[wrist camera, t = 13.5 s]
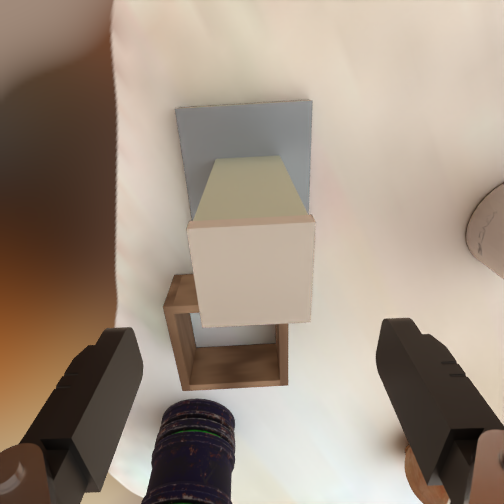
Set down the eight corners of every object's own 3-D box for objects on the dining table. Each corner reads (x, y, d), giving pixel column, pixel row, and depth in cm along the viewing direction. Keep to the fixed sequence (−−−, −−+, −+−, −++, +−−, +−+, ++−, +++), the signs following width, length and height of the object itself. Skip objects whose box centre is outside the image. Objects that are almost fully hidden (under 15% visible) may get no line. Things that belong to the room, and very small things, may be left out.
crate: (281, 269, 31) (288, 299, 27) (282, 348, 36) (288, 385, 32) (174, 275, 31) (162, 306, 27) (190, 353, 36) (182, 390, 32)
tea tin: (280, 154, 25) (315, 222, 13) (281, 216, 27) (310, 322, 15) (214, 157, 25) (186, 228, 13) (220, 219, 27) (202, 327, 15)
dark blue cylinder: (158, 440, 44) (121, 594, 31) (164, 393, 39) (123, 550, 26) (229, 447, 45) (222, 598, 32) (242, 403, 41) (241, 557, 27)
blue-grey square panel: (309, 99, 24) (312, 100, 23) (305, 245, 30) (307, 251, 29) (177, 107, 24) (174, 108, 23) (199, 251, 30) (197, 257, 29)
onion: (406, 436, 50) (415, 518, 44) (395, 421, 44) (403, 513, 38) (479, 443, 45) (500, 535, 39) (477, 427, 39) (501, 533, 33)
